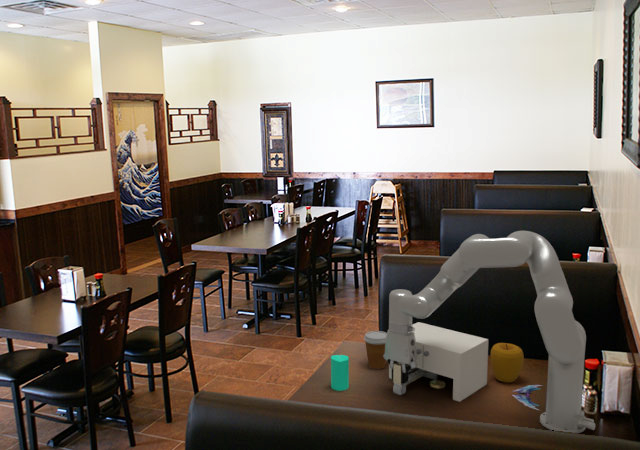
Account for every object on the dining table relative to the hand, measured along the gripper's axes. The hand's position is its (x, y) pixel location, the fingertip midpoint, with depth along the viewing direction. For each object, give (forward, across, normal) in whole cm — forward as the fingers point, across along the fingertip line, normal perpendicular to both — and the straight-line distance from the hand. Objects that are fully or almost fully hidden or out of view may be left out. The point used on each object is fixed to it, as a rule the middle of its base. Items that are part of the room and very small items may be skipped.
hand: (399, 380), depth 198 cm
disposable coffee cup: (+4, +20, -13) cm, 24 cm away
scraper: (+4, 0, -8) cm, 9 cm away
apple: (+4, -21, -33) cm, 40 cm away
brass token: (+5, -6, -13) cm, 15 cm away
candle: (+4, +18, +10) cm, 21 cm away
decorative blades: (+5, -32, -26) cm, 42 cm away
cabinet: (+4, -4, -16) cm, 17 cm away
